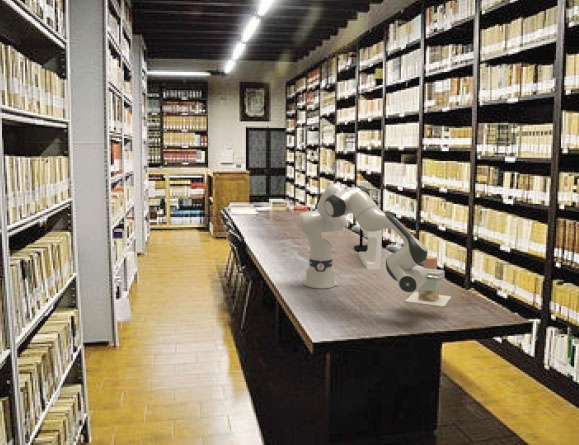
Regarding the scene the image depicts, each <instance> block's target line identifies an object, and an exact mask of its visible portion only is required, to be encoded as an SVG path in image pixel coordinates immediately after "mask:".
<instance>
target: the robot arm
mask: <svg viewBox="0 0 579 445" xmlns="http://www.w3.org/2000/svg"><path fill="white" fill-rule="evenodd" d="M318 201H319V202H318V203H317V205H316V209H317V210H312V211H311V210H309V211H305V212H300V213H299V215H297V218H296V226H297V228H298V230H299V231H300V232H302V233H303V234H304V235H305V237H306V238H307V240H308V243H309V252H310V253H309V254H310V255H309V257H310V258H309V260H308V267H307V269H306V271H305V274H306V275H305V280H304V281H302V285H303V286H305V287H306V286H307V287H309V288H313V289H330V288H334V287H339V285H340V284H339V282H338V281H337V280H336V270H335V269H334V267H333V262H334V261H333V258H332V256H333V255H332V252H333V251H332V250H333V246H332V243H331V242H330V241H329V240H328V239H325V238H324V237H322V233H334V232H338V231H343V229H344V228H345V227H346V225H347V218H346V215H349V214H352V215H353V217H354V219H355V220H356V222H357V223H358V225H359V227H360V226H361V227H362V229H364V230H365V231H368V232H376V231H381V230H382V231H384V230H388V229H391V230H392V231H394V232H395V233H396V234H397V235H398V236H399V237H400V239H402V241H403V242H404V245H403V246H402V247H400V248H399V249H398V250H395V252H393V253H392V254H391V255H389V256H388V257H386V258H385V269H386V272H387V273H388V275H389V276H390V278H392V279H393V280H395V282H397V283H398V287H399V288H400V290H402V291H403V292H405V293H409V294H410V293H414V292H418V291H419V288H420V287H421V286H422V285H423V284H424V283H425V282H426V281H427V280H432V281H440V282H441V281H442V280H444V279H445V274H446V273H445V272H446V271H445V270H443V269H437V268H436V269H427V268H424V266H423V265H420V264H422V263H424V261H425V260H426V258H427V256H428V254H429V253H428V249H427V246H425V244H424V243H423V242H421V241H420V240H419V239H418V238H417V237H416V236H415V235H414V234H413V233H412V232H411V231H410V230H409V229H408V228H407V227H406V226H405V225H404V224H403V223H402V222H401V221H400V220H399V219H398V218H397V217H396V216H395V215H394V214H392V213H390V212H384V211H383V210H381V208H380V209H379V207H378V206H377V205H378V204H377V205H376V202H374V201H373V200H372V197H371V193H370V191H369V190H368V188H367V187H365V186H363V185H354V186H351V187H349V188H344V186H342V185H341V184H339V183H331V184H329V185H328V186H327V187H326V189H324V191H323V192H322V195H321V196H320V198H319V200H318Z"/></svg>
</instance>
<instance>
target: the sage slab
mask: <svg viewBox="0 0 579 445" xmlns="http://www.w3.org/2000/svg"><path fill="white" fill-rule="evenodd" d="M440 285H441V281H432V280H427V281H426V282H425V283H424V284H423V285H422V286H421V287H420V288H419V289H418V291H419V290H427V291H435V292H436V291H437V290H438V289H439V290H440V287H441V286H440Z"/></svg>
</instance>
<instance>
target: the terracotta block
mask: <svg viewBox="0 0 579 445" xmlns="http://www.w3.org/2000/svg"><path fill="white" fill-rule="evenodd" d="M437 260H438V257H437V256H429V255H427V258H426V260H425V261H423V267H424V268H427V269H437V267H438V266H437V265H438V264H437V262H438V261H437Z"/></svg>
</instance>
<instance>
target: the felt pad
mask: <svg viewBox="0 0 579 445" xmlns="http://www.w3.org/2000/svg"><path fill="white" fill-rule="evenodd" d="M418 296H419V291H415V292H412V294H411V295H410V296H409V297H408V298H407V299H405V301H404V302H406V303H411V304H420V305H427V306H431V307H433V306H434V307H440V308H441V307H442V308H445V307H446V305H447V304H448V303H449V302H450V300H451V298H452V296H450V295H445V294H444V295H443V294H439V298H438V299H437V301H436V302H432V301H424V300H418Z"/></svg>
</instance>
